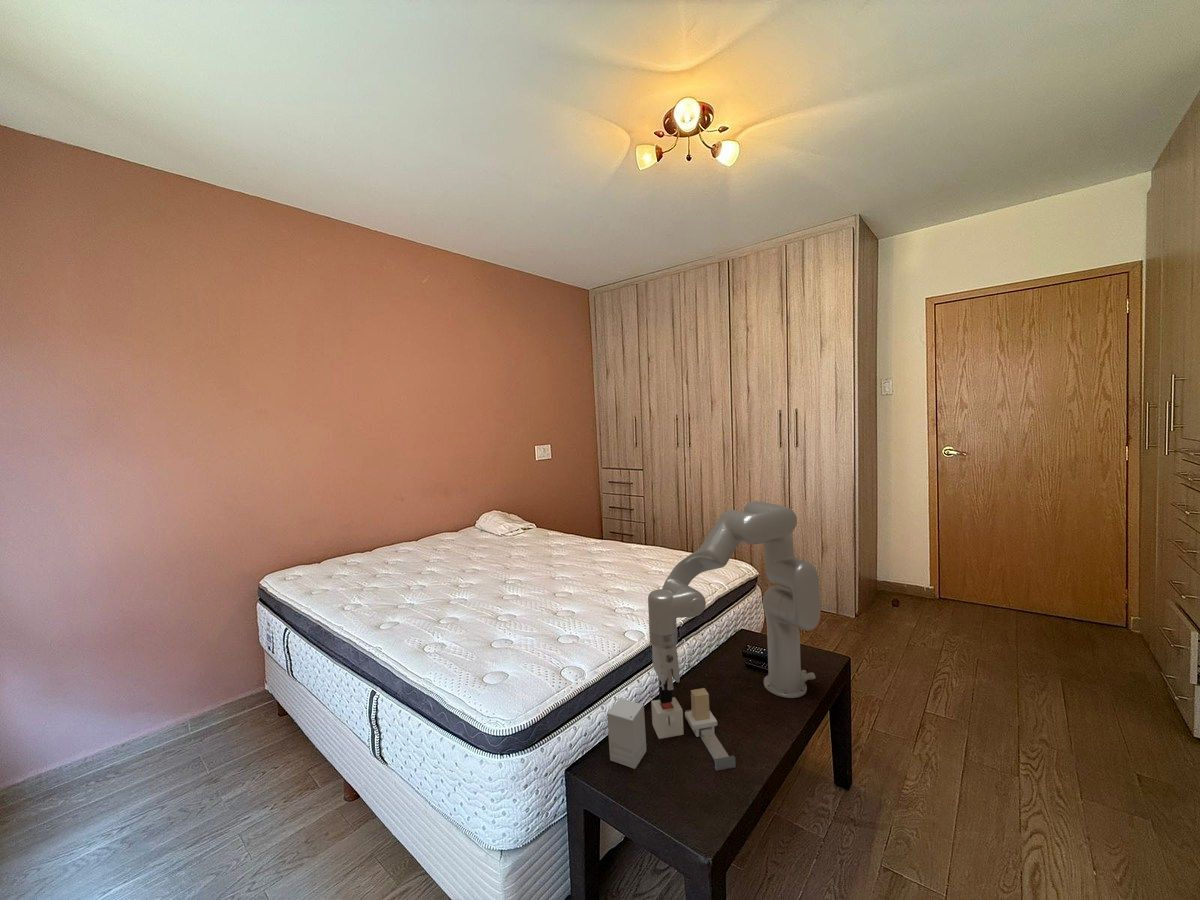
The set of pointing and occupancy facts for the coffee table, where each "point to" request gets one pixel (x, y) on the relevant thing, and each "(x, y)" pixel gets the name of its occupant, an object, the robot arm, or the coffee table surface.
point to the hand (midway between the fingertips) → (665, 701)
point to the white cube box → (667, 719)
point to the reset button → (666, 705)
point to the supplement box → (626, 732)
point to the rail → (716, 749)
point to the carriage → (700, 712)
